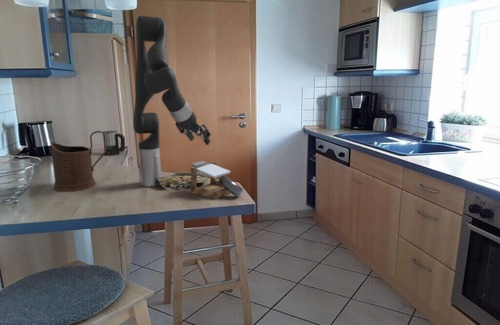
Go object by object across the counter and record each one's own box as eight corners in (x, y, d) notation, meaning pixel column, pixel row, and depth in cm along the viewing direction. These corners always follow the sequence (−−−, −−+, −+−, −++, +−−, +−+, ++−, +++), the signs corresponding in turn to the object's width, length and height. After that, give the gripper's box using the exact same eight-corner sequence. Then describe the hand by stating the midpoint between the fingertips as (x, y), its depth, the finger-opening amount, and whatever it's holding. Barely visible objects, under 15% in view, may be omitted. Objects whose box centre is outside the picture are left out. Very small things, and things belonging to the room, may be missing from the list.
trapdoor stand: (189, 192, 163) (188, 166, 161) (211, 185, 174) (210, 160, 172) (216, 199, 155) (215, 172, 152) (237, 190, 166) (236, 165, 163)
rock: (159, 189, 179) (162, 195, 164) (156, 175, 177) (158, 180, 163) (206, 178, 185) (213, 182, 171) (203, 164, 184) (209, 167, 170)
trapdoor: (188, 169, 164) (188, 164, 163) (204, 165, 172) (205, 160, 171) (214, 180, 156) (214, 175, 155) (229, 175, 164) (230, 170, 163)
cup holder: (56, 182, 180) (50, 130, 174) (110, 178, 187) (105, 128, 181) (49, 193, 163) (41, 136, 157) (108, 188, 170) (103, 133, 164)
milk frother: (103, 156, 238) (100, 132, 235) (106, 151, 253) (104, 129, 250) (126, 154, 241) (124, 131, 238) (128, 150, 256) (126, 128, 253)
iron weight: (220, 177, 156) (238, 191, 153) (226, 173, 160) (244, 187, 157) (217, 185, 159) (235, 198, 156) (223, 181, 162) (241, 194, 159)
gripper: (202, 109, 137) (218, 137, 149) (174, 103, 145) (192, 131, 157) (191, 124, 134) (209, 152, 146) (163, 118, 141) (182, 144, 154)
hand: (200, 141), depth 151 cm, fingers open, 8 cm apart
